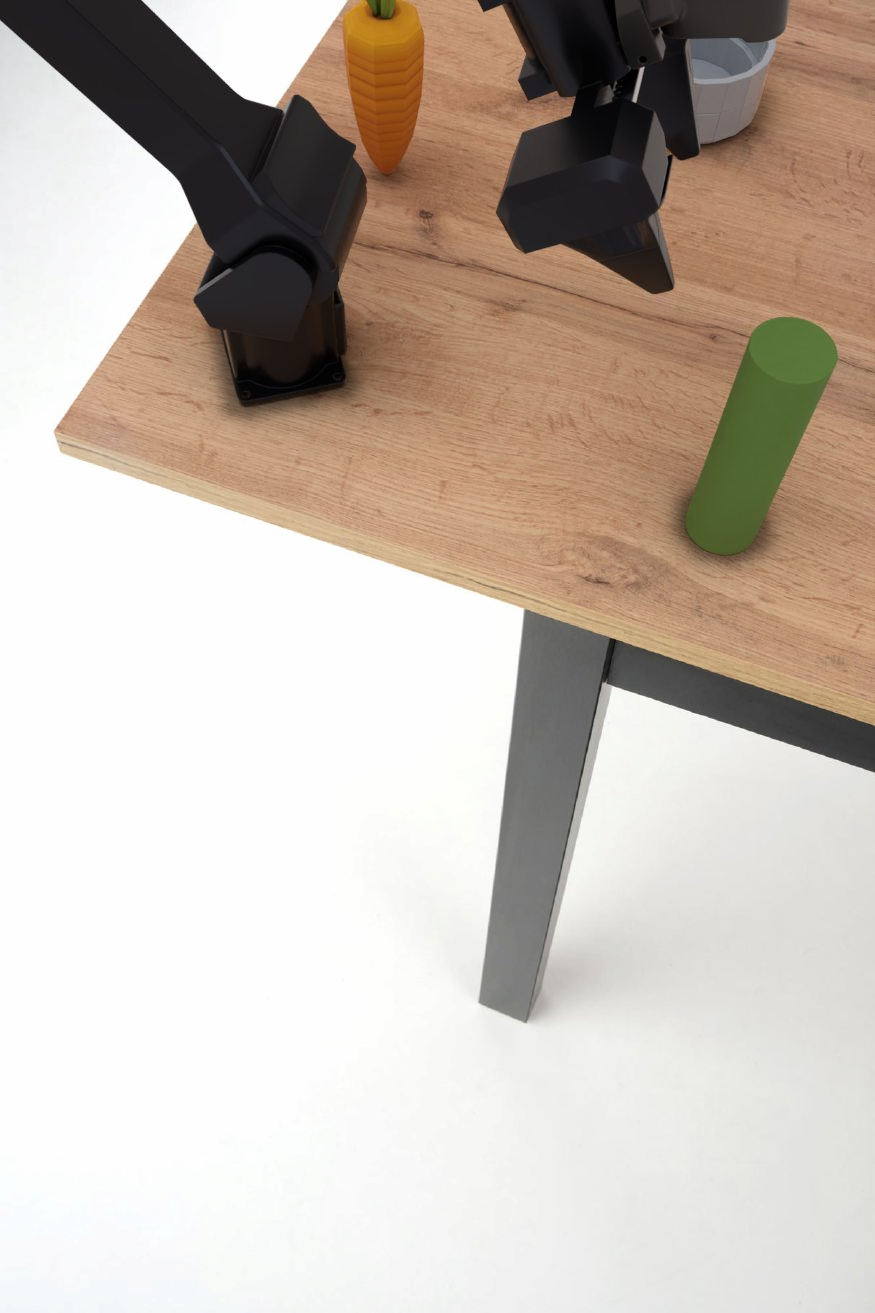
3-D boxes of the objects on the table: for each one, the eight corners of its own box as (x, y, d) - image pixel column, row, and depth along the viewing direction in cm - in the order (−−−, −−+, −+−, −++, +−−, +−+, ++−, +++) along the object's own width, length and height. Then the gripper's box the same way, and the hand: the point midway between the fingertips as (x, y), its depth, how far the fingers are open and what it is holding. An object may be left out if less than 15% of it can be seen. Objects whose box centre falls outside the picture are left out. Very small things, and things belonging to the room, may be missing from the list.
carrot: (415, 204, 76) (415, -21, 63) (341, 192, 77) (326, -33, 64) (430, 153, 79) (434, -74, 65) (358, 142, 79) (348, -86, 66)
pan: (642, 160, 79) (655, 94, 74) (593, 66, 83) (603, -2, 79) (778, 136, 80) (800, 70, 76) (723, 44, 85) (740, -23, 80)
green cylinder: (700, 562, 64) (770, 391, 52) (674, 503, 66) (735, 325, 53) (767, 546, 64) (852, 373, 52) (740, 489, 66) (815, 308, 54)
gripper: (716, -38, 35) (839, 328, 47) (774, -326, 44) (866, 40, 55) (410, 81, 41) (584, 380, 52) (515, -194, 50) (645, 113, 61)
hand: (677, 220), depth 55 cm, fingers open, 9 cm apart
